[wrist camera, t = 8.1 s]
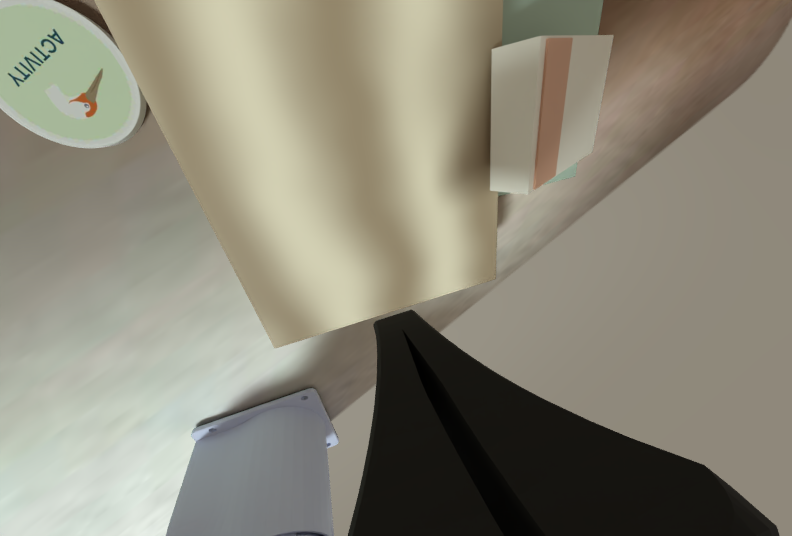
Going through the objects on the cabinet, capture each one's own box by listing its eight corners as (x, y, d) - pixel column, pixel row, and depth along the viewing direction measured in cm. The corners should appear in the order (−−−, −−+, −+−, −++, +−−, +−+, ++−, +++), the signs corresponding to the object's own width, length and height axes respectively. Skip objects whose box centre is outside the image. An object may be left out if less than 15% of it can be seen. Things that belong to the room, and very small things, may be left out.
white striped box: (489, 190, 15) (530, 194, 13) (491, 49, 12) (543, 34, 10) (559, 152, 20) (594, 151, 18) (573, 44, 17) (616, 34, 15)
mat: (466, 202, 20) (468, 204, 19) (458, -37, 14) (461, -39, 13) (572, 175, 21) (575, 176, 21) (607, -51, 15) (612, -54, 15)
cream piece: (279, 308, 19) (274, 348, 16) (149, 26, 12) (89, -11, 8) (465, 254, 22) (495, 278, 18) (455, -9, 14) (504, -48, 11)
